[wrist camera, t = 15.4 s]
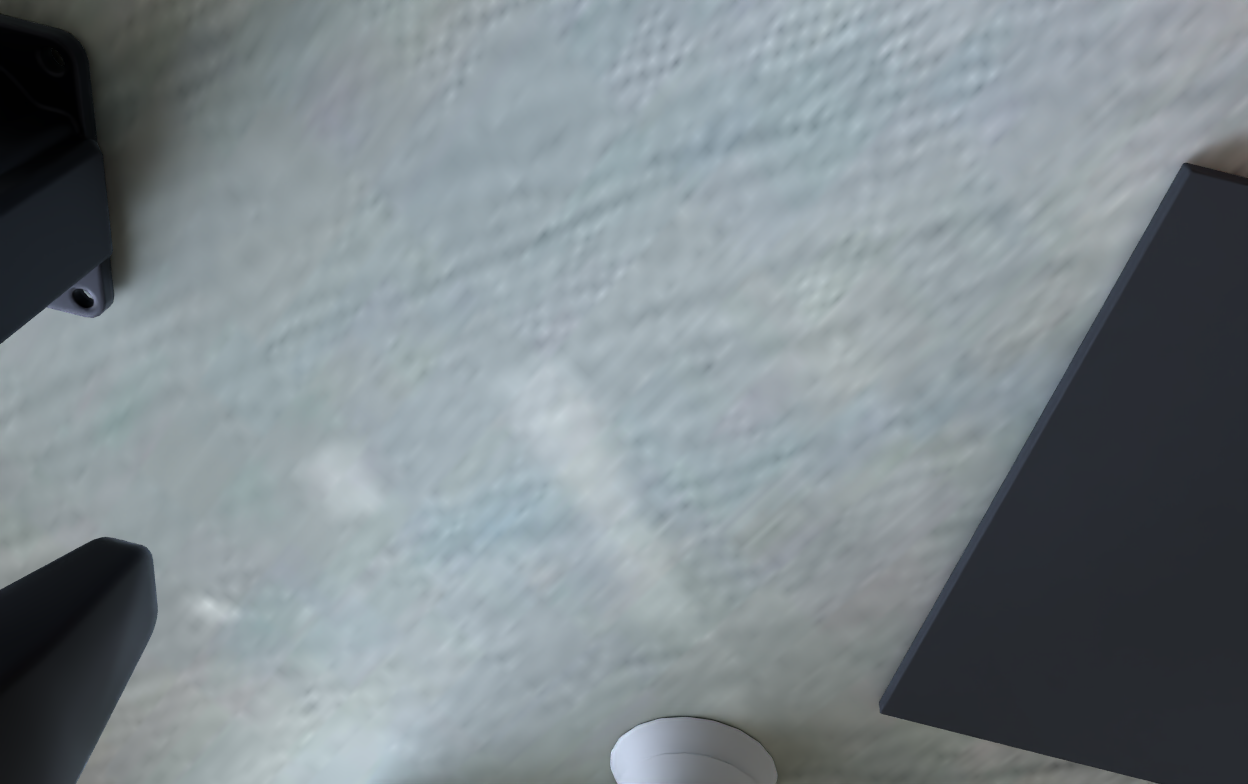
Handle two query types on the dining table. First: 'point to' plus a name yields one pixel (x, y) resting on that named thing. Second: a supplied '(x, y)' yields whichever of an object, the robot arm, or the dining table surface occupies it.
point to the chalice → (690, 754)
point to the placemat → (1119, 532)
